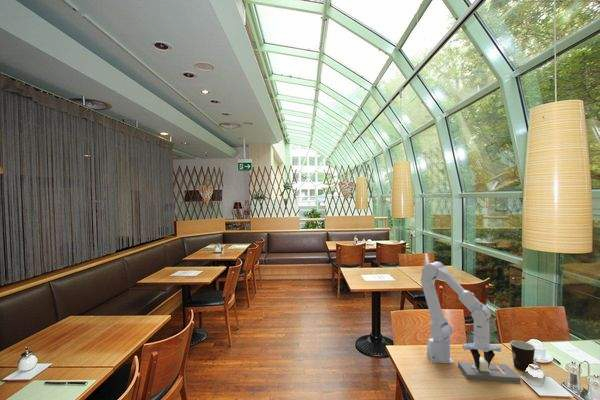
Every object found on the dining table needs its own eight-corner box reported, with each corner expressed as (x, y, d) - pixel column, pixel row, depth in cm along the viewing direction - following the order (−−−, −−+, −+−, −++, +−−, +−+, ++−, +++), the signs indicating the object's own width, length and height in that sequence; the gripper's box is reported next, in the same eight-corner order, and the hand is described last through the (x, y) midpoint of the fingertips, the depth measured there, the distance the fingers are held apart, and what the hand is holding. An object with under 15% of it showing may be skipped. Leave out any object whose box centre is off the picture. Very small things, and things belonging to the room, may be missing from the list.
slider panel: (467, 379, 124) (467, 374, 124) (458, 366, 134) (458, 361, 134) (520, 382, 122) (520, 377, 122) (506, 369, 132) (506, 364, 132)
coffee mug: (535, 375, 126) (535, 351, 126) (510, 369, 131) (510, 346, 132) (534, 364, 136) (534, 341, 136) (511, 358, 141) (511, 336, 141)
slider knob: (480, 371, 126) (480, 362, 126) (475, 365, 130) (475, 357, 130) (488, 371, 126) (488, 362, 126) (483, 365, 130) (483, 357, 130)
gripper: (467, 338, 125) (467, 371, 125) (505, 340, 123) (505, 373, 123) (460, 331, 132) (460, 362, 132) (496, 332, 130) (496, 364, 130)
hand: (481, 367), depth 128 cm, fingers closed on slider knob, 3 cm apart
